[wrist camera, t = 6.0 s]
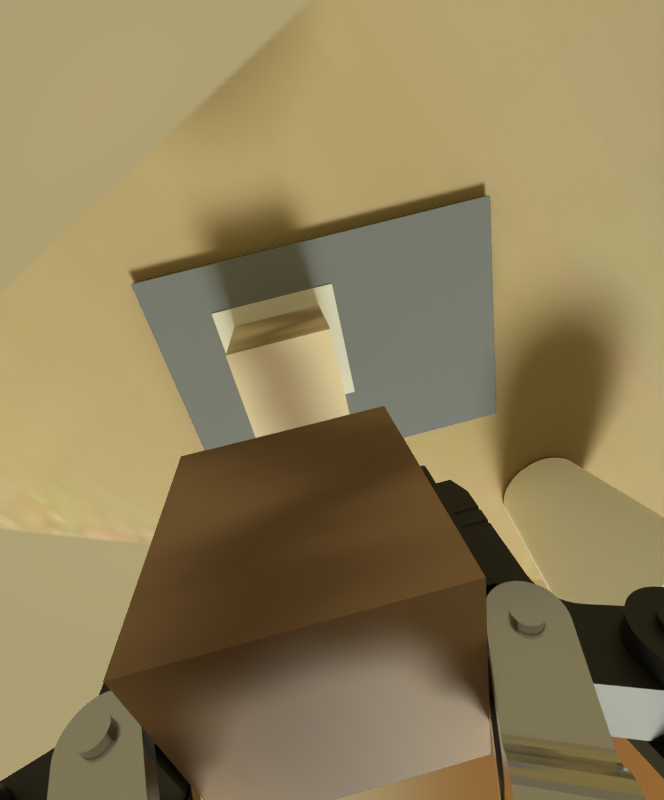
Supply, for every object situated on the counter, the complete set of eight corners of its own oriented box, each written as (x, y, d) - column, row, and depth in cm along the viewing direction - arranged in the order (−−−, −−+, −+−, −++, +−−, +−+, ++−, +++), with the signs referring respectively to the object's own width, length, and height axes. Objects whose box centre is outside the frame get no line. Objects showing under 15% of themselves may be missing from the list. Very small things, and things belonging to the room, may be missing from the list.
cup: (479, 470, 31) (589, 609, 20) (589, 426, 30) (761, 544, 20) (498, 545, 35) (599, 694, 24) (595, 507, 34) (741, 641, 24)
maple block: (318, 305, 23) (330, 328, 18) (336, 381, 25) (350, 419, 21) (234, 326, 23) (225, 355, 18) (260, 401, 25) (257, 443, 20)
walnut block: (384, 405, 10) (485, 577, 5) (406, 549, 12) (490, 754, 7) (181, 456, 9) (103, 681, 5) (243, 592, 12) (229, 830, 7)
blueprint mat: (484, 195, 22) (490, 195, 21) (491, 409, 28) (496, 413, 28) (134, 282, 22) (130, 284, 21) (221, 480, 28) (220, 486, 27)
